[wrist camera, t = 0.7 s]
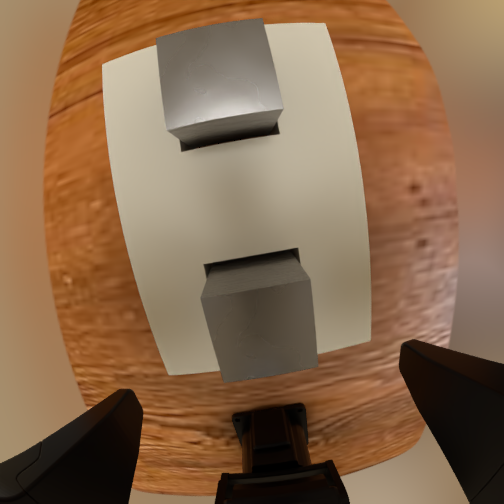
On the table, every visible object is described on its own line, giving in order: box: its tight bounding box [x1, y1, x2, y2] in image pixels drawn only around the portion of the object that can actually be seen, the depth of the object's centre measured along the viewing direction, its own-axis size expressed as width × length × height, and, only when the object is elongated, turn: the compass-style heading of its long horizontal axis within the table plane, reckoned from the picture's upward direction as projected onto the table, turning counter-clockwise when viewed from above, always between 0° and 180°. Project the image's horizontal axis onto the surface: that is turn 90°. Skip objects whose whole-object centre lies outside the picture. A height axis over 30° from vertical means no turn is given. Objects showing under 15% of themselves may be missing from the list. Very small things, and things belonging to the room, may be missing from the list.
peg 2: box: [200, 249, 318, 383], centre depth 13 cm, size 4×4×5 cm
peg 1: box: [156, 18, 284, 148], centre depth 10 cm, size 4×4×5 cm
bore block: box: [102, 23, 371, 375], centre depth 15 cm, size 18×12×5 cm, turn 10°
